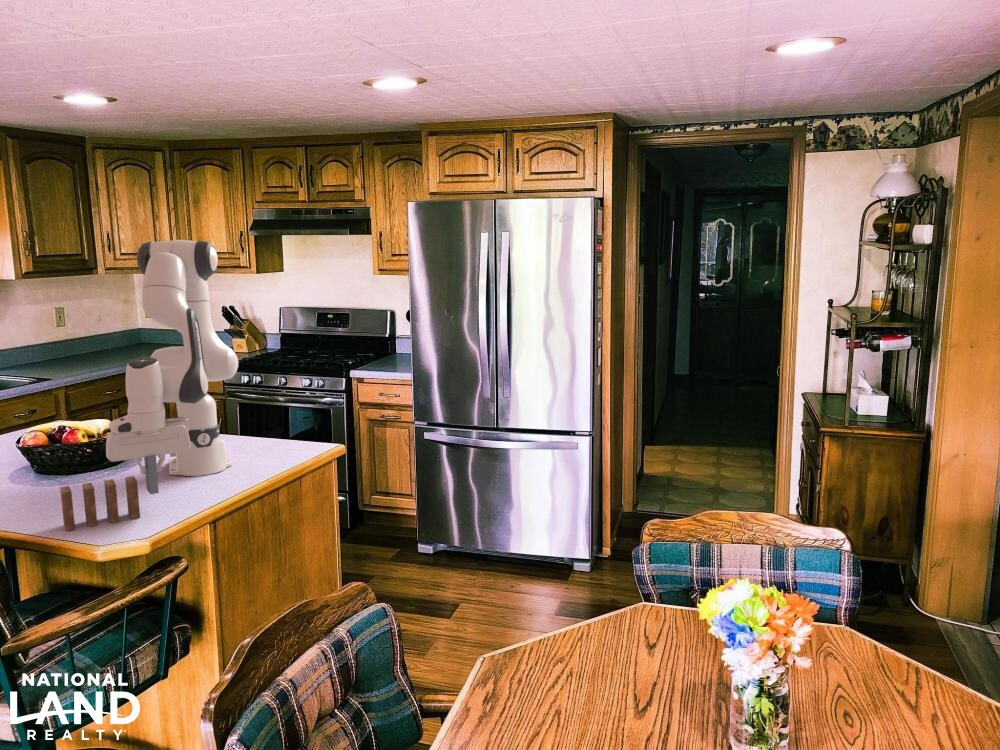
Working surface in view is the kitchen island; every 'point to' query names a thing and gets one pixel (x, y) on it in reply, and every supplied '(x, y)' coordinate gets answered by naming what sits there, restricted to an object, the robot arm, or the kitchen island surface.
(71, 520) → the domino
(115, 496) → the domino
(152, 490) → the slate domino
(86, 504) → the domino
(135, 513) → the domino
